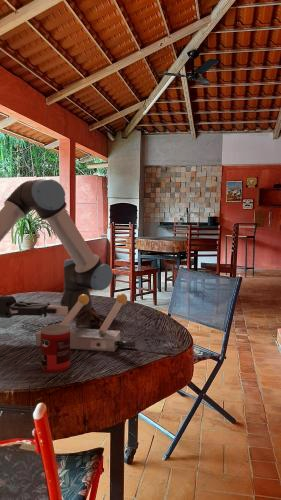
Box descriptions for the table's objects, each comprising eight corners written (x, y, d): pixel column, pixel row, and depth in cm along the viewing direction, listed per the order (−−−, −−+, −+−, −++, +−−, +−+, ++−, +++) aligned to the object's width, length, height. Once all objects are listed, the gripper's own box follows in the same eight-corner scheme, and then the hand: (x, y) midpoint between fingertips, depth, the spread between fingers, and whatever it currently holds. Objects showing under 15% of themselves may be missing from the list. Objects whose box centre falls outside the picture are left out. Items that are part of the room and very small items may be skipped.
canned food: (43, 362, 108) (43, 324, 107) (71, 361, 109) (71, 324, 108) (38, 373, 101) (38, 332, 100) (68, 372, 101) (68, 332, 100)
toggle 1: (58, 324, 127) (84, 290, 125) (66, 331, 127) (92, 297, 125) (53, 328, 123) (80, 293, 121) (62, 335, 123) (88, 300, 120)
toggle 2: (98, 327, 125) (121, 290, 123) (107, 333, 125) (130, 296, 123) (94, 331, 121) (118, 292, 119) (104, 337, 120) (127, 298, 118)
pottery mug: (102, 332, 139) (91, 314, 137) (80, 342, 141) (69, 324, 139) (106, 316, 151) (96, 299, 148) (86, 325, 152) (76, 309, 150)
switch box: (47, 337, 131) (47, 326, 131) (137, 343, 126) (138, 332, 125) (35, 346, 121) (35, 334, 121) (132, 353, 116) (132, 340, 116)
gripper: (10, 313, 135) (73, 317, 131) (-10, 322, 122) (59, 327, 118) (10, 292, 134) (74, 296, 130) (-10, 299, 121) (59, 303, 117)
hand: (66, 311), depth 124 cm, fingers closed
